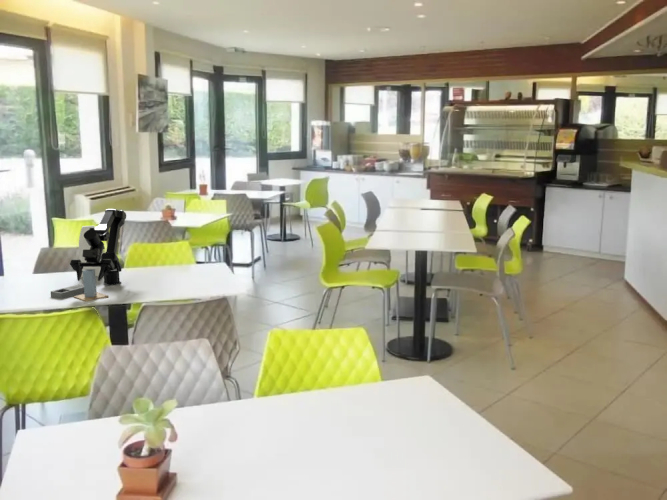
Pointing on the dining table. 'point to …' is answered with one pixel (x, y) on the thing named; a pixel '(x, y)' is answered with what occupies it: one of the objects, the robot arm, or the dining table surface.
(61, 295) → the gray slotted board
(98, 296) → the cork mat
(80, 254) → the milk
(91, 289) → the plug
